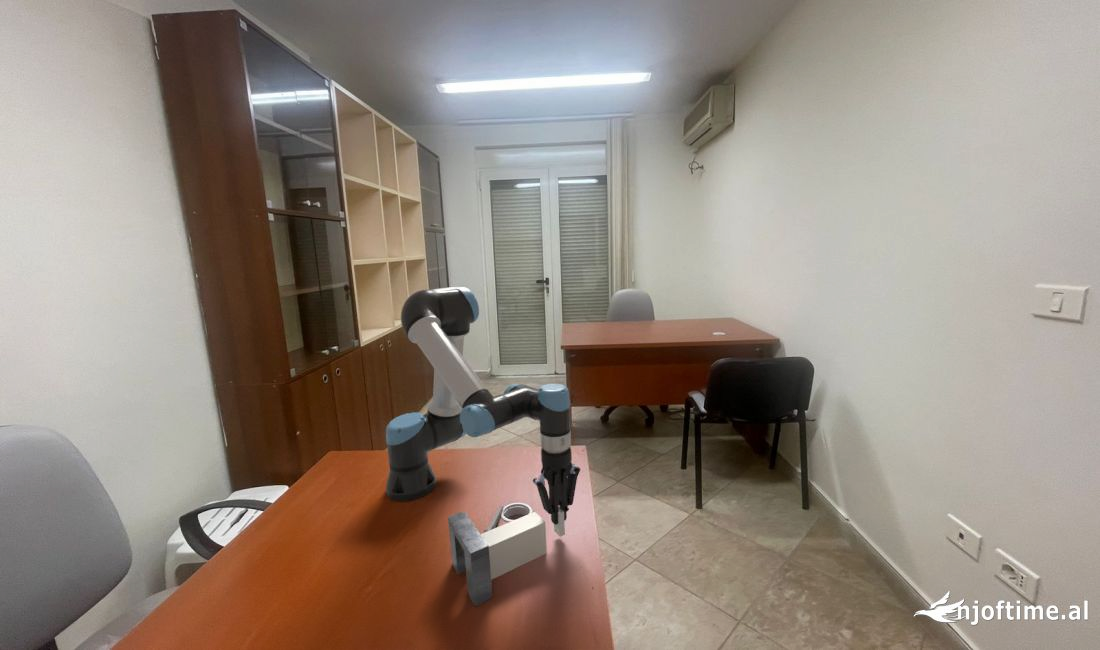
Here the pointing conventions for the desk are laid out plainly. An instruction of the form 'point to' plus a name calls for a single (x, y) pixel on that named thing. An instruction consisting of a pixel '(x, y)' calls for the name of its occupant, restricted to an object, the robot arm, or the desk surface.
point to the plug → (515, 543)
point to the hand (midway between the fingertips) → (559, 532)
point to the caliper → (495, 519)
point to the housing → (470, 556)
